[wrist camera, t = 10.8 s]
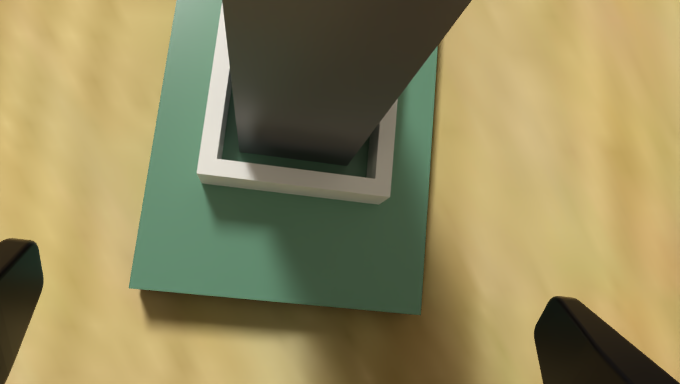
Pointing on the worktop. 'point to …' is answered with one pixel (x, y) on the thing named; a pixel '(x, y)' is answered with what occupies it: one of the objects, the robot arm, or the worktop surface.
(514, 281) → the worktop surface
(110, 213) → the worktop surface
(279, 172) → the board
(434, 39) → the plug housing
